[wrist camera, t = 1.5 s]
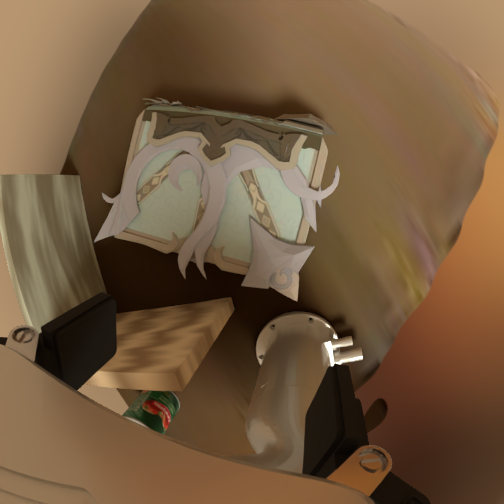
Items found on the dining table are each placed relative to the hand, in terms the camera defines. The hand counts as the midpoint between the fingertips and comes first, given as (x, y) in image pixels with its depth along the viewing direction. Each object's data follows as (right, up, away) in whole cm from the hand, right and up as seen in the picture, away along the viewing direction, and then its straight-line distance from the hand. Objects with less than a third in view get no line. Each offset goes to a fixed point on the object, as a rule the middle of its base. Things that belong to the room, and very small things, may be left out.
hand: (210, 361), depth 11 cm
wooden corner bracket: (-16, +7, +31) cm, 36 cm away
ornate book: (-3, +13, +28) cm, 31 cm away
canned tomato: (-16, -24, +37) cm, 47 cm away
